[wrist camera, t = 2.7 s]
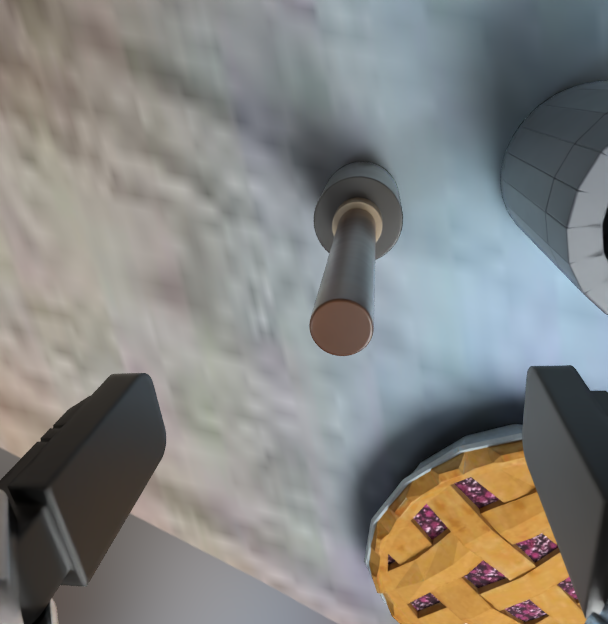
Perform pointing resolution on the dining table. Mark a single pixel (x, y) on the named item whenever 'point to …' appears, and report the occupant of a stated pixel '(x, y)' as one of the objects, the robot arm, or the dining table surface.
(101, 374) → the dining table surface
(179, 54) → the dining table surface
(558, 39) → the dining table surface
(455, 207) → the dining table surface
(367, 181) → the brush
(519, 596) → the pie
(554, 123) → the grey cup
